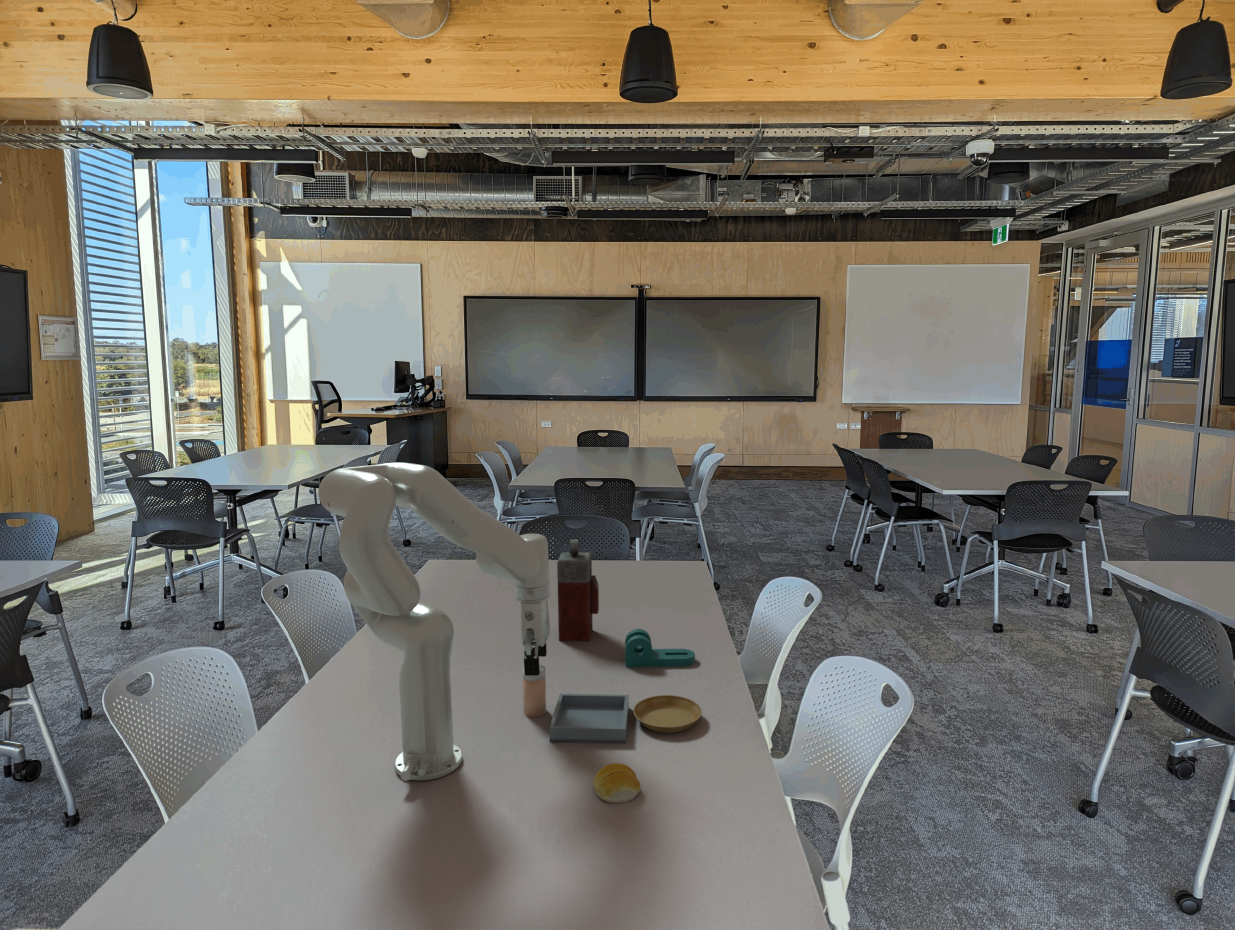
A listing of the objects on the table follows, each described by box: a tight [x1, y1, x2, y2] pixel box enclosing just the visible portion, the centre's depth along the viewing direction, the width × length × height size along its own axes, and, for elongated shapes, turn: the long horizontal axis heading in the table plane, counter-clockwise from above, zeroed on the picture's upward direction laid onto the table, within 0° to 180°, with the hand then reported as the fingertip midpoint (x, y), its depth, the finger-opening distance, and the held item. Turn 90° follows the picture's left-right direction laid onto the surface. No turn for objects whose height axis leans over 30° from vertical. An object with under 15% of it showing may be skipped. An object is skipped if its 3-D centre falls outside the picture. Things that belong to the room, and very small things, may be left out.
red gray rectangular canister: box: [556, 539, 600, 642], centre depth 206 cm, size 9×11×28 cm
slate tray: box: [548, 693, 630, 744], centre depth 155 cm, size 16×16×3 cm
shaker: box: [521, 664, 547, 718], centre depth 161 cm, size 5×5×10 cm
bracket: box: [624, 628, 696, 668], centre depth 188 cm, size 18×7×8 cm, turn 91°
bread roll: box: [592, 763, 641, 804], centre depth 131 cm, size 8×9×4 cm
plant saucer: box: [633, 694, 702, 734], centre depth 157 cm, size 15×15×3 cm
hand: (536, 665), depth 160 cm, fingers open, 9 cm apart
